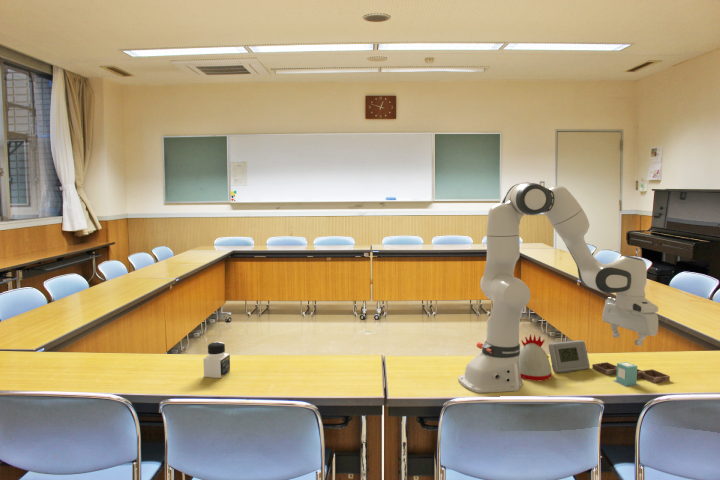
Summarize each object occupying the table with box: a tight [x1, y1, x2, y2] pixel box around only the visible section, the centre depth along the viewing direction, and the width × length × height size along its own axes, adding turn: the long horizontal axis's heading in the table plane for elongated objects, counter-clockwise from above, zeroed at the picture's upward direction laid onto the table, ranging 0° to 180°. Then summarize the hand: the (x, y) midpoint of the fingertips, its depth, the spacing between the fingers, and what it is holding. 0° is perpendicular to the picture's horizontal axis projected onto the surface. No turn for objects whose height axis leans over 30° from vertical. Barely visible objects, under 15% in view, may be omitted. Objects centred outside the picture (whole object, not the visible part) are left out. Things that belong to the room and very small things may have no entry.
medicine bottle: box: [202, 341, 231, 379], centre depth 175 cm, size 7×7×12 cm
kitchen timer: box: [519, 333, 552, 382], centre depth 175 cm, size 14×14×15 cm
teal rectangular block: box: [615, 361, 638, 386], centre depth 165 cm, size 4×4×7 cm
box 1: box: [591, 361, 617, 376], centre depth 176 cm, size 7×7×2 cm
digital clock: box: [548, 339, 591, 374], centre depth 179 cm, size 16×9×11 cm, turn 94°
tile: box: [612, 379, 640, 388], centre depth 165 cm, size 6×6×1 cm
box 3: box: [638, 368, 671, 384], centre depth 169 cm, size 7×7×2 cm
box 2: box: [615, 367, 645, 379], centre depth 173 cm, size 7×7×2 cm
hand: (626, 341), depth 164 cm, fingers open, 8 cm apart
